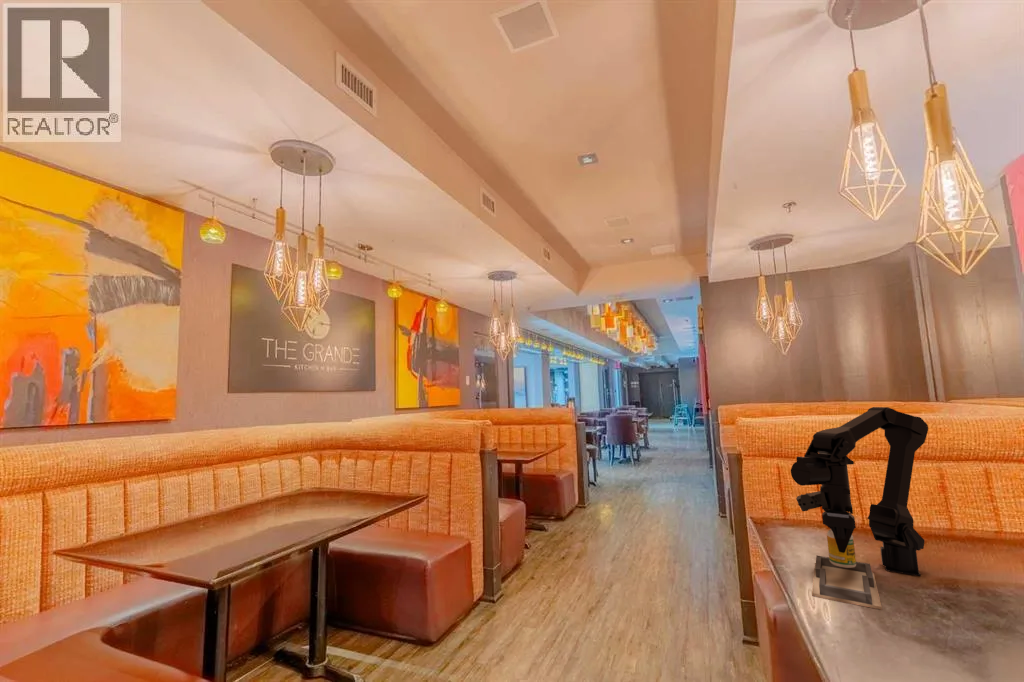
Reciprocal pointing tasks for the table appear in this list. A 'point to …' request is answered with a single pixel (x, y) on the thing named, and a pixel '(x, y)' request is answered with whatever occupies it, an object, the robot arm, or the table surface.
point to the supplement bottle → (839, 557)
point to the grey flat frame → (845, 583)
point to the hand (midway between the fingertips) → (841, 548)
